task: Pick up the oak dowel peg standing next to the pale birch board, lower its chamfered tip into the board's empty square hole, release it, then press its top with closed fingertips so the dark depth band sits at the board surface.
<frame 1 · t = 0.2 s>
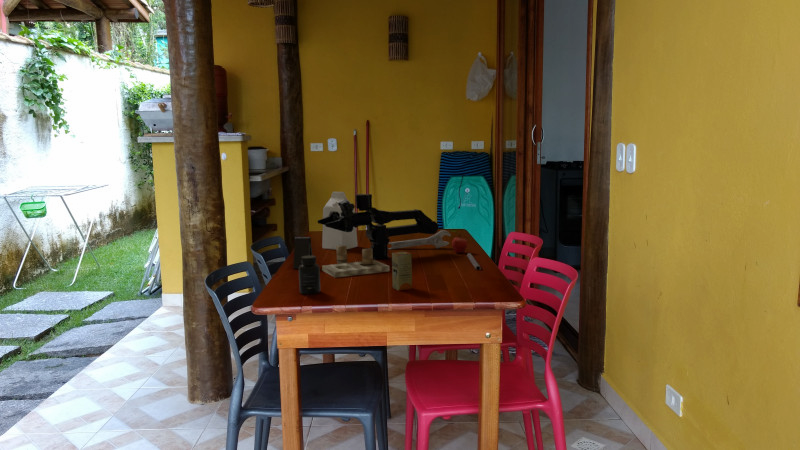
hand: (321, 223, 250), 17 cm above the table, tool horizontal, fingers open, 9 cm apart
wrench: (418, 249, 285), on the table
milk: (340, 247, 292), on the table
birch board: (355, 270, 238), on the table
oak peg: (342, 265, 248), on the table
phone stand: (303, 267, 247), on the table
seated peg: (367, 269, 240), resting in birch board
supplement bottle: (310, 293, 205), on the table
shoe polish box: (402, 288, 209), on the table
metal rod: (473, 264, 250), on the table
apple: (458, 253, 273), on the table
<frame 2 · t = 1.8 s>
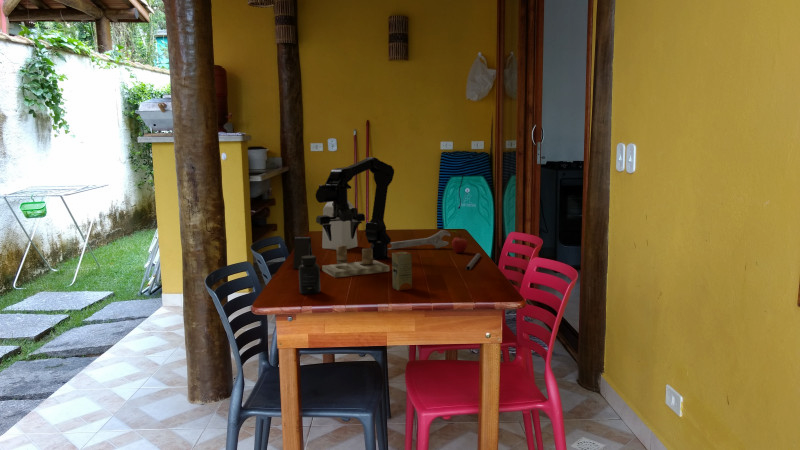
hand: (341, 239, 247), 10 cm above the table, tool pointing down, fingers open, 9 cm apart
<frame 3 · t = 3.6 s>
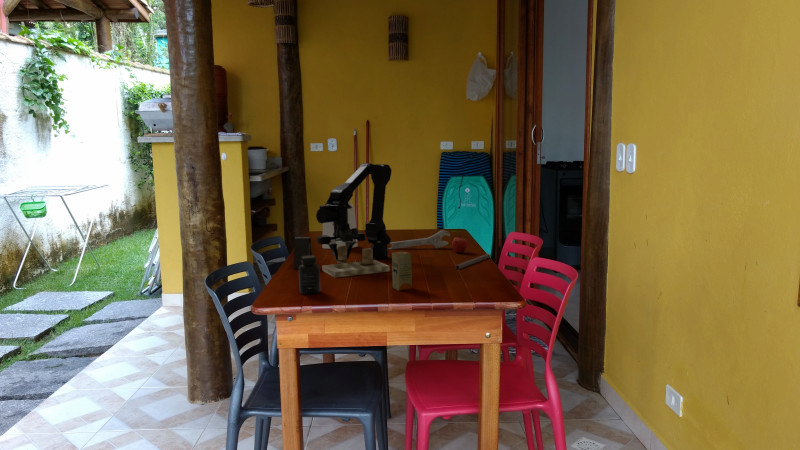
hand: (341, 259, 248), 3 cm above the table, tool pointing down, fingers closed on oak peg, 4 cm apart
oak peg: (342, 265, 248), on the table, touching gripper
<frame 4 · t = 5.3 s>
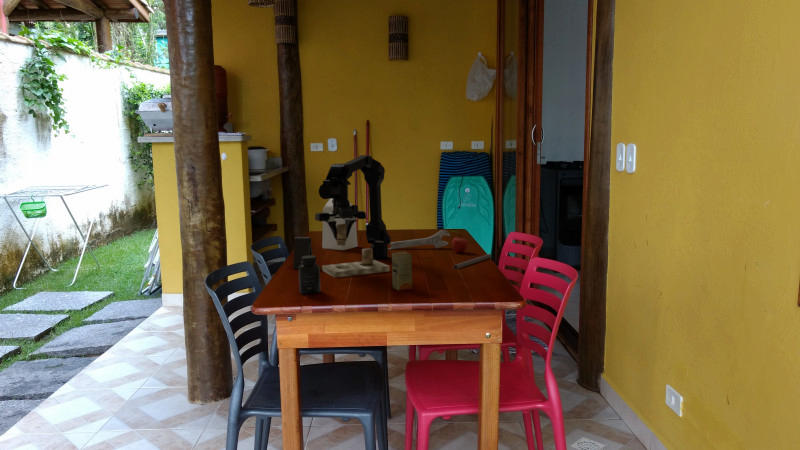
hand: (341, 238, 237), 13 cm above the table, tool pointing down, fingers closed on oak peg, 4 cm apart
oak peg: (341, 244, 237), point 10 cm above the table, touching gripper
when the fingers open (3 cm above the table, at t = 7.1 s): oak peg stays where it is, resting in birch board.
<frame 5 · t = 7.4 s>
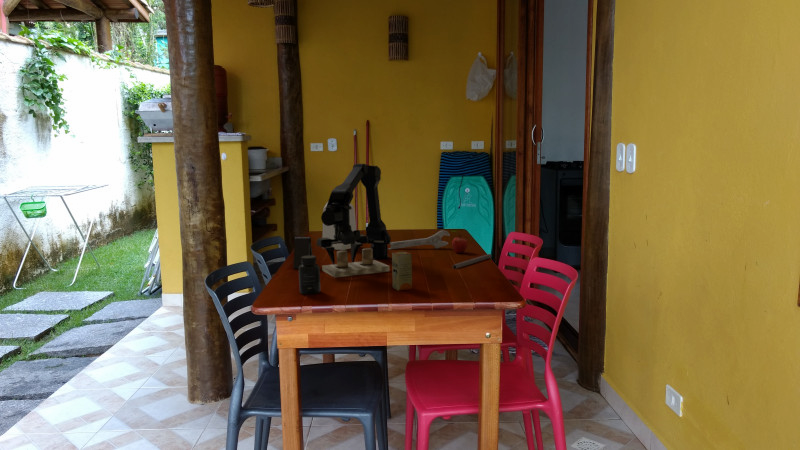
hand: (343, 263, 235), 3 cm above the table, tool pointing down, fingers open, 7 cm apart
oak peg: (343, 272, 235), resting in birch board
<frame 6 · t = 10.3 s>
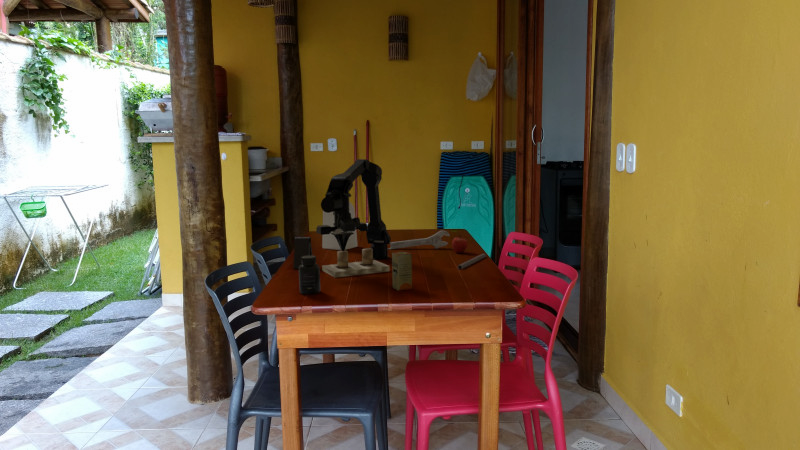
hand: (342, 251, 234), 8 cm above the table, tool pointing down, fingers closed
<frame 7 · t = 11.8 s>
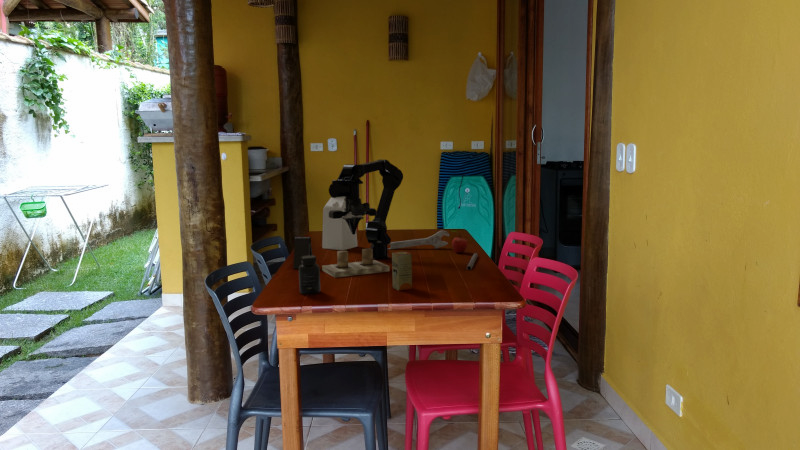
hand: (353, 234, 251), 12 cm above the table, tool pointing down, fingers closed
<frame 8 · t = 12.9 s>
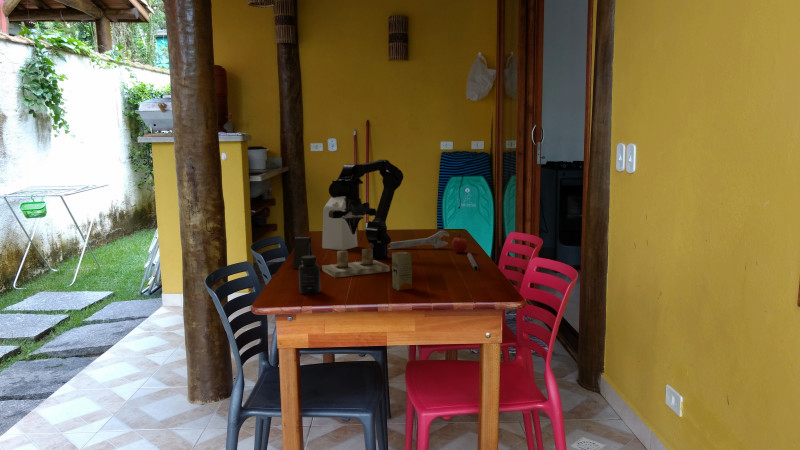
hand: (353, 234, 251), 12 cm above the table, tool pointing down, fingers closed
at the end: oak peg 0.1 cm from the target spot on the birch board, point 0.0 cm above the birch board's base; oak peg tilted 0°; the gripper is holding nothing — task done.
